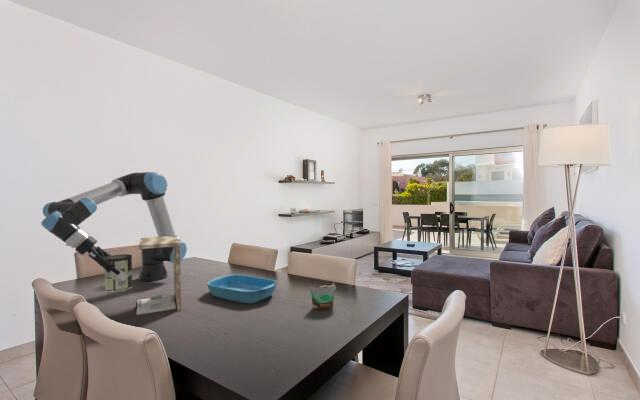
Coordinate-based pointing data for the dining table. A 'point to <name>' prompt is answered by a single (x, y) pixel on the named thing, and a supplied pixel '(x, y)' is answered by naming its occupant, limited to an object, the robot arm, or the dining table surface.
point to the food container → (323, 296)
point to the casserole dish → (242, 288)
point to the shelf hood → (173, 242)
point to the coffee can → (112, 280)
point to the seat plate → (156, 304)
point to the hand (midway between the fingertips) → (126, 275)
